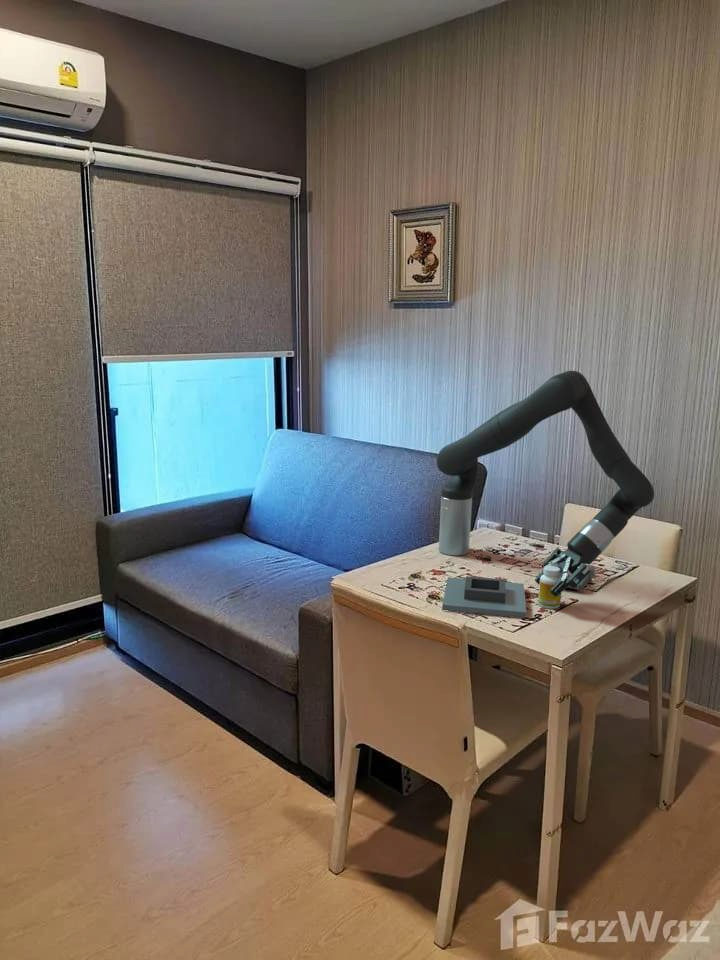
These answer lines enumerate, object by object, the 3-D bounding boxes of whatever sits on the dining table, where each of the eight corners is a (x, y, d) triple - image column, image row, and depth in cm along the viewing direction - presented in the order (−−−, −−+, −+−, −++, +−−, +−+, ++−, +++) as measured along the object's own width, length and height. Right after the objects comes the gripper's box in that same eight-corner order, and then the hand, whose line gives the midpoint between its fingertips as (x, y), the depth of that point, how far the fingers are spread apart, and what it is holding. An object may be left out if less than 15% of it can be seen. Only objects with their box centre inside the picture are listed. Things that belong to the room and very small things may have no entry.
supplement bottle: (560, 610, 184) (564, 572, 182) (538, 608, 184) (541, 570, 182) (559, 602, 189) (562, 565, 187) (537, 600, 190) (540, 563, 188)
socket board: (447, 582, 201) (448, 568, 200) (523, 589, 197) (524, 574, 196) (442, 610, 181) (442, 595, 181) (525, 618, 178) (527, 602, 177)
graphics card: (554, 558, 214) (597, 565, 208) (553, 570, 215) (596, 577, 209) (538, 576, 199) (583, 583, 194) (537, 589, 200) (582, 597, 195)
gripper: (567, 523, 191) (522, 569, 191) (598, 540, 178) (550, 589, 177) (583, 542, 194) (539, 587, 193) (615, 559, 180) (568, 608, 180)
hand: (544, 588), depth 185 cm, fingers open, 7 cm apart
